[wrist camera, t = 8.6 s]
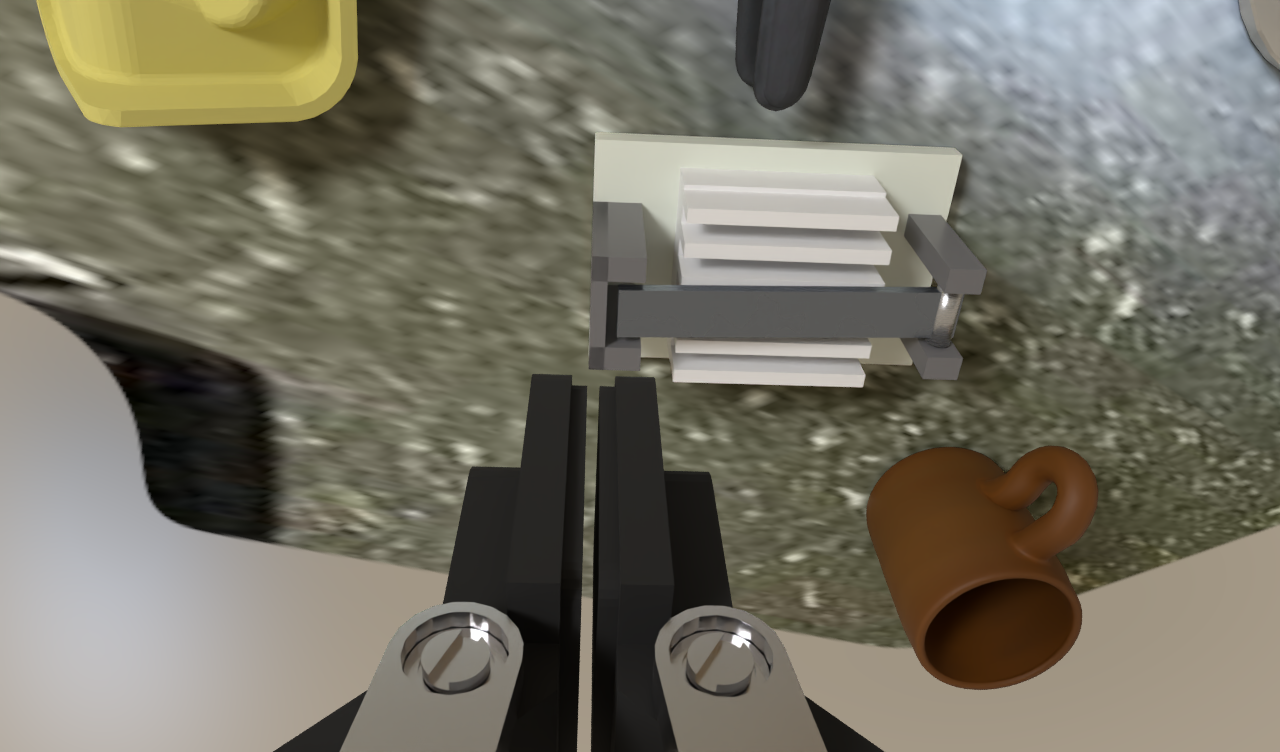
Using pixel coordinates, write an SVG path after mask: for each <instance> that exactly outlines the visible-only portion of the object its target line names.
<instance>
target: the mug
mask: <svg viewBox="0 0 1280 752" xmlns="http://www.w3.org/2000/svg"><path fill="white" fill-rule="evenodd" d="M1052 482H1054V483H1055V484H1056V486H1057V497H1056V500H1055V503H1054V505H1053V507H1052V509H1051V510H1050V511H1048V512H1047V513H1046V514H1045V515H1043V516H1042V517H1040V518H1039V519H1037V520H1036V521H1035V520H1034V518H1033V517H1032V515H1031V514H1030V512H1029V511H1028V509H1027V508H1026V507H1027V506H1029V505H1030V504H1032V503H1033V502H1034V501H1035V500H1036V499H1037V498H1038V497H1039V496H1040V495H1041V494H1042V492H1043V491H1044V490H1045V489H1046V488H1047V486H1048V485H1050V484H1051V483H1052ZM1097 502H1098V487H1097V482H1096V477H1095V475H1094V473H1093V471H1092V470H1091V468H1090V466H1089V465H1088V463H1087V461H1086V460H1084V459H1083V458H1082V457H1081V456H1080V455H1079V454H1077V453H1076V452H1074V451H1072V450H1070V449H1068V448H1065V447H1060V446H1044V447H1039V448H1037V449H1034V450H1032V451H1030V452H1028V453H1026V454H1025V455H1024V456H1022V457H1021V458H1020V459H1019V460H1018V461H1017V462H1016V463H1015V464H1014V465H1013V466H1012V467H1011V469H1010V470H1009V471H1008V472H1007V473H1006V474H1005V473H1004V472H1003V470H1002V469H1001V468H1000V467H999V466H998V465H997V464H996V463H994V462H993V461H992V460H991V459H989V458H988V457H986V456H984V455H982V454H981V453H978V452H975V451H972V450H968V449H964V448H957V447H939V448H932V449H928V450H924V451H921V452H918V453H915V454H913V455H910V456H908V457H906V458H904V459H903V460H901V461H899V462H898V463H896V464H895V465H893V466H892V467H891V468H890V469H889V470H888V471H886V472H885V473H884V475H883V476H882V477H881V478H880V479H879V481H878V482H877V483H876V485H875V487H874V489H873V490H872V492H871V494H870V497H869V500H868V504H867V513H866V517H867V526H868V530H869V533H870V536H871V539H872V542H873V545H874V548H875V551H876V553H877V556H878V559H879V562H880V565H881V568H882V571H883V574H884V577H885V579H886V582H887V585H888V588H889V590H890V593H891V596H892V599H893V601H894V604H895V607H896V609H897V612H898V615H899V618H900V620H901V623H902V626H903V628H904V630H905V633H906V635H907V637H908V639H909V641H910V643H911V645H912V647H913V649H914V651H915V653H916V656H917V657H918V659H919V661H920V663H921V665H922V666H923V667H924V668H925V669H926V670H927V671H928V672H929V673H930V674H931V675H933V676H934V677H935V678H937V679H939V680H940V681H942V682H944V683H946V684H949V685H952V686H955V687H959V688H964V689H974V690H987V689H997V688H1002V687H1007V686H1011V685H1015V684H1018V683H1021V682H1024V681H1026V680H1029V679H1031V678H1033V677H1036V676H1037V675H1039V674H1041V673H1043V672H1045V671H1046V670H1048V669H1049V668H1050V667H1052V666H1053V665H1055V664H1056V663H1057V662H1058V661H1059V660H1061V659H1062V658H1063V657H1064V656H1065V655H1066V653H1068V651H1069V650H1070V649H1071V647H1072V646H1073V645H1074V643H1075V641H1076V639H1077V637H1078V635H1079V632H1080V629H1081V625H1082V609H1081V604H1080V602H1079V599H1078V597H1077V595H1076V593H1075V591H1074V589H1073V587H1072V585H1071V583H1070V581H1069V578H1068V576H1067V574H1066V572H1065V570H1064V568H1063V566H1062V564H1061V563H1060V561H1059V559H1058V558H1057V556H1056V554H1057V553H1059V552H1061V551H1063V550H1064V549H1066V548H1068V547H1069V546H1071V545H1073V544H1074V543H1076V542H1077V541H1078V540H1079V539H1080V538H1081V537H1082V536H1083V534H1084V533H1085V531H1086V529H1087V528H1088V526H1089V525H1090V523H1091V521H1092V518H1093V516H1094V513H1095V511H1096V508H1097Z"/></svg>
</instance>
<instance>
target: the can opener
mask: <svg viewBox="0 0 1280 752" xmlns="http://www.w3.org/2000/svg"><path fill="white" fill-rule="evenodd" d="M830 1H831V0H738V13H737V27H736V58H735V60H736V67H737V71H738V74H739V76H740V77H741V79H742V80H743V81H744V82H745V83H746V84H748V85H750V86H752V87H753V90H754V94H755V97H756V99H757V101H758V103H759V104H761V105H762V106H763V107H765V108H767V109H769V110H773V111H779V110H783V109H786V108H788V107H790V106H792V105H794V104H795V103H796V102H797V101H798V100H799V99H800V98H801V97H802V95H803V94H804V92H805V91H806V89H807V86H808V83H809V80H810V77H811V74H812V70H813V66H814V63H815V60H816V55H817V52H818V48H819V45H820V40H821V37H822V33H823V29H824V25H825V21H826V17H827V13H828V9H829V5H830Z"/></svg>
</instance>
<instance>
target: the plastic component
mask: <svg viewBox="0 0 1280 752" xmlns="http://www.w3.org/2000/svg"><path fill="white" fill-rule="evenodd" d="M36 1H37V5H38V9H39V13H40V17H41V20H42V24H43V27H44V31H45V34H46V38H47V41H48V44H49V47H50V50H51V53H52V56H53V59H54V61H55V64H56V67H57V69H58V71H59V74H60V76H61V77H62V79H63V81H64V82H65V84H66V86H67V87H68V89H69V91H70V92H71V94H72V96H73V97H74V99H75V101H76V103H77V104H78V106H79V108H80V109H81V111H82V113H83V114H84V116H85V117H86V118H87V119H89V120H90V121H93V122H96V123H99V124H102V125H108V126H116V127H138V126H170V125H201V124H233V123H264V122H296V121H301V120H306V119H310V118H314V117H316V116H318V115H320V114H322V113H324V112H326V111H328V110H329V109H330V108H332V107H333V106H334V105H335V104H336V103H337V102H338V101H340V100H341V99H342V97H343V96H344V95H345V93H346V92H347V90H348V89H349V87H350V85H351V83H352V81H353V78H354V76H355V72H356V67H357V62H358V40H357V0H36Z"/></svg>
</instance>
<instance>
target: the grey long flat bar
mask: <svg viewBox="0 0 1280 752" xmlns="http://www.w3.org/2000/svg"><path fill="white" fill-rule="evenodd" d="M964 295H965V294H948V293H944V292H943V291H942V289H941V288H940V287H939V285H938V286H937V287H864V286H739V285H618V295H617V316H616V336H617V337H733V338H925V339H924V340H925V342H926V343H928V344H929V345H932V346H935V347H947V346H949V345H950V342H951V338H953V336H954V332H955V329H956V325H957V321H958V317H959V314H960V310H961V306H962V302H963V299H964Z"/></svg>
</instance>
